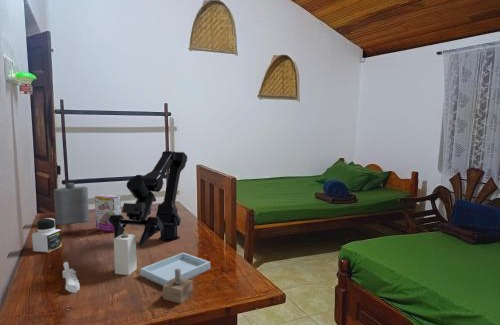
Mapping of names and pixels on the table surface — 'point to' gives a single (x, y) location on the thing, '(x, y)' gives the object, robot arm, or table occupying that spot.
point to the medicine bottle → (46, 236)
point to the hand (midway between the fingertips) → (127, 244)
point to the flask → (71, 205)
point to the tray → (166, 268)
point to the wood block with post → (178, 288)
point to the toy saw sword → (70, 279)
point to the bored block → (125, 254)
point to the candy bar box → (106, 210)
